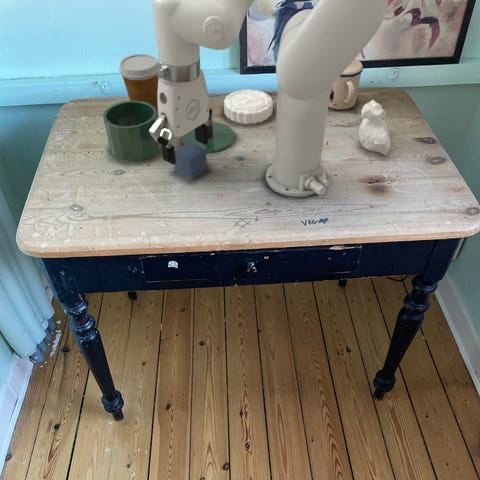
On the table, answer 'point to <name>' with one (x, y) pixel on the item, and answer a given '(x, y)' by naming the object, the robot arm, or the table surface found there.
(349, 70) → the teacup with lid
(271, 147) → the table surface
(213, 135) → the crock lid
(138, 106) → the crock
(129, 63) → the disposable coffee cup
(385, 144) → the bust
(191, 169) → the block
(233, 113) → the mooncake
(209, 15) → the robot arm
